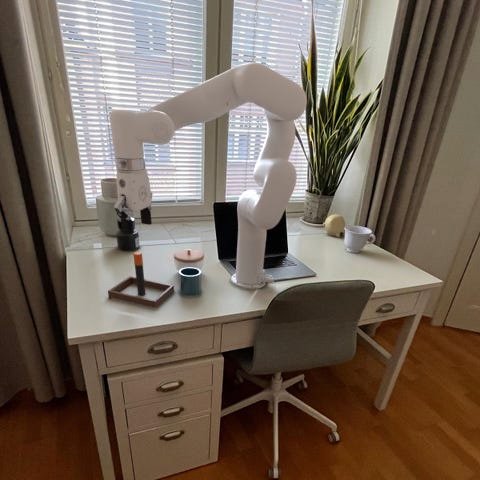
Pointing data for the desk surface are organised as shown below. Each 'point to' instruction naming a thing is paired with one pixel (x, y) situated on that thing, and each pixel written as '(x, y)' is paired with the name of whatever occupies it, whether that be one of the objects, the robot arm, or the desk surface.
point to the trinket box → (188, 259)
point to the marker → (139, 273)
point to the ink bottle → (127, 238)
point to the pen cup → (190, 281)
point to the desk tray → (139, 300)
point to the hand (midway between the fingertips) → (137, 228)
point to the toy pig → (335, 225)
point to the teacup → (357, 238)
